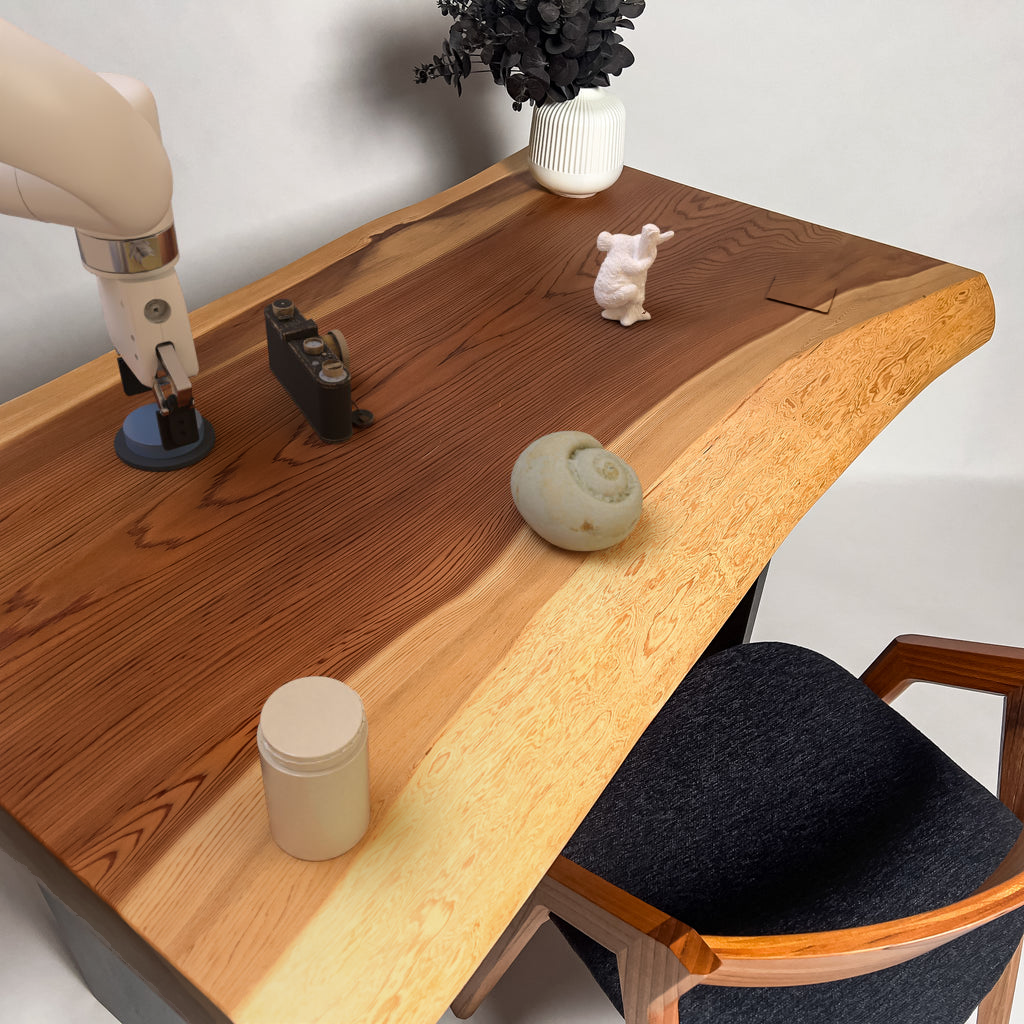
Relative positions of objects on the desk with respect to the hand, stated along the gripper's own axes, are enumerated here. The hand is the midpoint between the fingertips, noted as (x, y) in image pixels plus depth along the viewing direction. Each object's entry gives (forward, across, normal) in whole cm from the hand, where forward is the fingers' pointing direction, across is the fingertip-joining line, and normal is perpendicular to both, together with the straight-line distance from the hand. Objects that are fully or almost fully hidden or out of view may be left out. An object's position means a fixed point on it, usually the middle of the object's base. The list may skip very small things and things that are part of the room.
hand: (161, 417), depth 88 cm
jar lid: (+1, 0, 0) cm, 1 cm away
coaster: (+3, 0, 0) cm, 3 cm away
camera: (+3, 0, -16) cm, 16 cm away
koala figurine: (+3, -2, -55) cm, 55 cm away
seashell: (+3, -28, -26) cm, 38 cm away
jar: (+3, -43, +6) cm, 44 cm away
